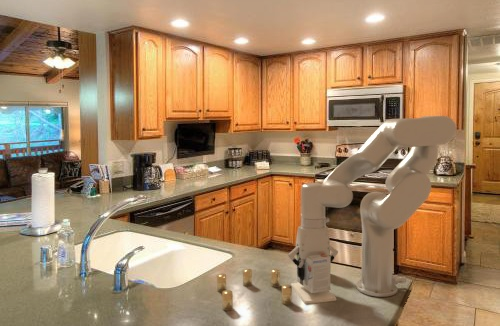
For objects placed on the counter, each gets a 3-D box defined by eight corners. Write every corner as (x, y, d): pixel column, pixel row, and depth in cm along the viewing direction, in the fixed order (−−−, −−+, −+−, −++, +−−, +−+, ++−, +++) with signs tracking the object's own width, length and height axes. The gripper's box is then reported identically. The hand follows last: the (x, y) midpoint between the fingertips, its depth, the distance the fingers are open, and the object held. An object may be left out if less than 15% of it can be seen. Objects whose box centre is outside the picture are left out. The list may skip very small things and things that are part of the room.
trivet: (319, 282, 136) (319, 280, 136) (336, 300, 123) (336, 298, 123) (291, 285, 135) (291, 283, 134) (304, 303, 121) (304, 301, 121)
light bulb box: (296, 281, 132) (295, 249, 131) (314, 278, 135) (314, 246, 134) (312, 294, 122) (312, 259, 121) (331, 290, 125) (331, 256, 124)
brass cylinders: (276, 280, 139) (276, 266, 139) (293, 304, 121) (293, 288, 120) (215, 285, 135) (215, 271, 135) (223, 311, 117) (222, 294, 116)
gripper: (334, 218, 132) (334, 270, 133) (282, 221, 128) (283, 275, 130) (344, 223, 124) (343, 279, 126) (289, 227, 121) (290, 284, 123)
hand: (313, 277), depth 128 cm, fingers closed on light bulb box, 7 cm apart
